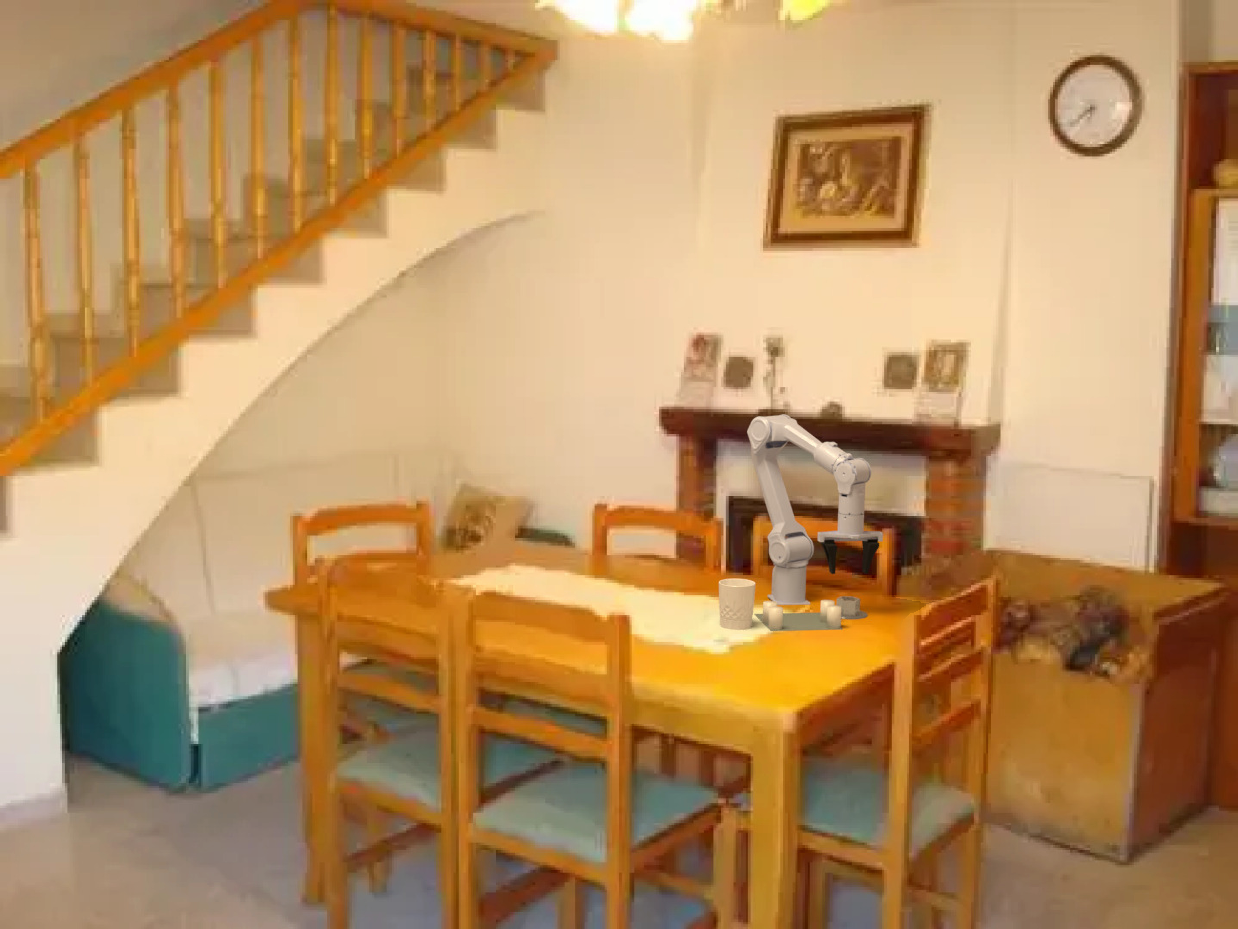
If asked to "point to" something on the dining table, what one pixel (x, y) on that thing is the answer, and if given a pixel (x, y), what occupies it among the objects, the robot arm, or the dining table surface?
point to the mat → (800, 622)
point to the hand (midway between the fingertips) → (848, 572)
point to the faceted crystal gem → (849, 605)
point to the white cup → (736, 603)
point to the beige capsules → (827, 614)
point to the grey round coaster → (860, 616)
